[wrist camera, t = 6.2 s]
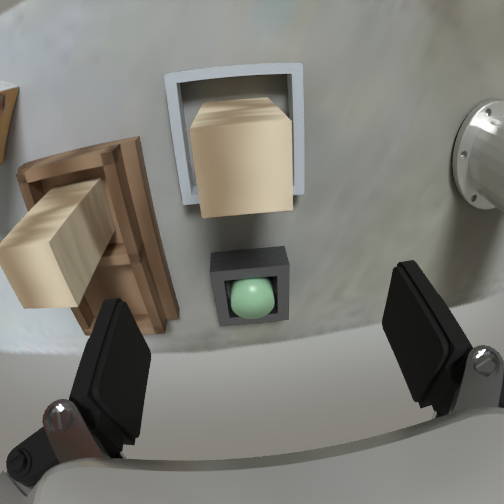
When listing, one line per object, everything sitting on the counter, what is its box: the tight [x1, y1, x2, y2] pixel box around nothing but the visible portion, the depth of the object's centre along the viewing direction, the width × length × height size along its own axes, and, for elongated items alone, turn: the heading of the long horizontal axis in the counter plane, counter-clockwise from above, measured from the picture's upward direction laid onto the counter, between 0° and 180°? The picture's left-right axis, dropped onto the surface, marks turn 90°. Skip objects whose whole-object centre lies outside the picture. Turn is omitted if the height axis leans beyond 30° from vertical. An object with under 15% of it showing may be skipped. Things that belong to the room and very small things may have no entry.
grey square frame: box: [164, 63, 304, 205], centre depth 24 cm, size 10×11×2 cm
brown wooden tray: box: [16, 136, 179, 335], centre depth 28 cm, size 12×19×4 cm, turn 4°
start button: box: [230, 277, 274, 319], centre depth 31 cm, size 4×4×3 cm
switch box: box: [210, 246, 289, 326], centre depth 32 cm, size 7×7×3 cm
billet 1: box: [0, 177, 116, 309], centre depth 21 cm, size 5×5×10 cm
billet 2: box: [189, 97, 293, 218], centre depth 20 cm, size 5×5×10 cm
